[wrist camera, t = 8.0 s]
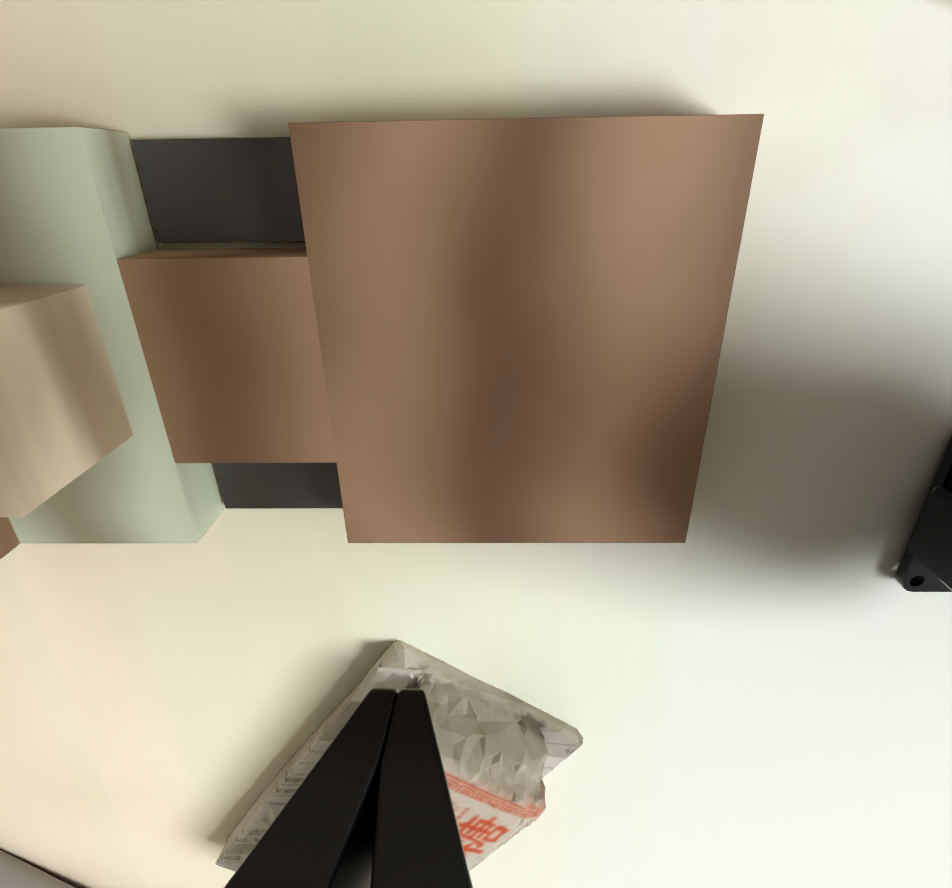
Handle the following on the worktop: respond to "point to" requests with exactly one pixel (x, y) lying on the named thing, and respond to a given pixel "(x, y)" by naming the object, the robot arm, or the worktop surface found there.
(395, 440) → the trap deck
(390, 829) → the robot arm
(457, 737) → the packaged product
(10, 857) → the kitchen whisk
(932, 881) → the worktop surface
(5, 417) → the birch block
